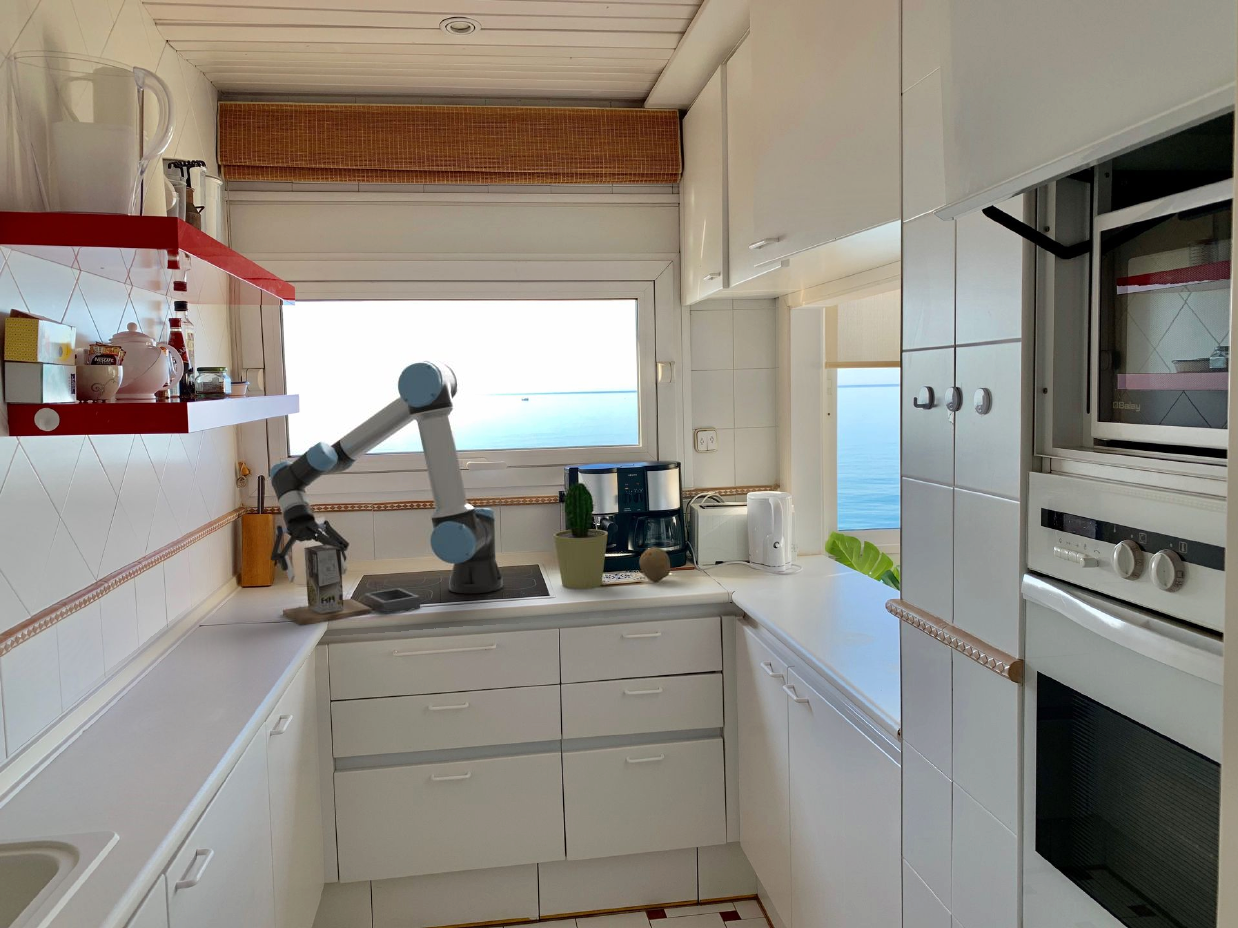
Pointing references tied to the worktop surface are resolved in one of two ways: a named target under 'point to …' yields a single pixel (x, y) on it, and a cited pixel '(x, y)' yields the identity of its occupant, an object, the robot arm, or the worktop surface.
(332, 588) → the coffee box
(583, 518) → the potted cactus
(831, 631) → the worktop surface
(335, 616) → the board
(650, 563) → the coconut
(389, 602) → the holder
